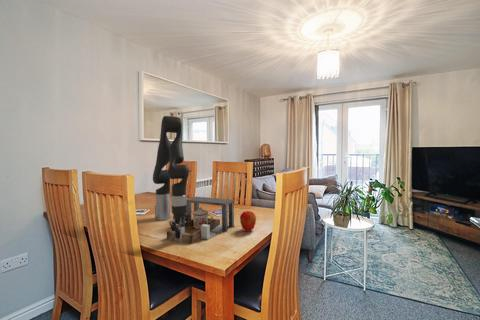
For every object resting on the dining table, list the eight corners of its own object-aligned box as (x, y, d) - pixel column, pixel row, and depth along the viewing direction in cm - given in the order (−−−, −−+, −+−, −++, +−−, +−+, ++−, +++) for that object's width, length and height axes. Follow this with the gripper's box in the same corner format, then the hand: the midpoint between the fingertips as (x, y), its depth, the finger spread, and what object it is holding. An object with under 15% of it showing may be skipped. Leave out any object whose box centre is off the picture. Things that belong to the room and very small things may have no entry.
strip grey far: (210, 232, 132) (210, 230, 132) (219, 226, 142) (219, 224, 142) (217, 233, 131) (217, 231, 130) (226, 227, 141) (226, 225, 141)
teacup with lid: (193, 230, 136) (192, 210, 136) (192, 225, 145) (192, 206, 144) (213, 228, 139) (213, 208, 138) (212, 223, 148) (211, 205, 147)
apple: (245, 234, 128) (245, 213, 128) (237, 229, 136) (236, 209, 135) (259, 231, 133) (259, 210, 133) (250, 226, 141) (250, 207, 140)
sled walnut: (165, 239, 122) (165, 226, 122) (198, 222, 149) (197, 211, 149) (191, 244, 116) (191, 230, 115) (219, 225, 143) (219, 214, 143)
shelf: (186, 226, 143) (185, 199, 142) (196, 220, 153) (195, 196, 153) (225, 232, 132) (225, 203, 132) (233, 226, 142) (233, 199, 142)
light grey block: (200, 238, 123) (200, 225, 122) (208, 233, 130) (208, 221, 130) (207, 240, 121) (207, 226, 121) (215, 234, 128) (215, 222, 128)
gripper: (181, 200, 127) (182, 231, 128) (164, 206, 114) (164, 240, 115) (193, 201, 124) (193, 233, 125) (176, 207, 111) (177, 243, 112)
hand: (179, 236), depth 120 cm, fingers closed on sled walnut, 3 cm apart
